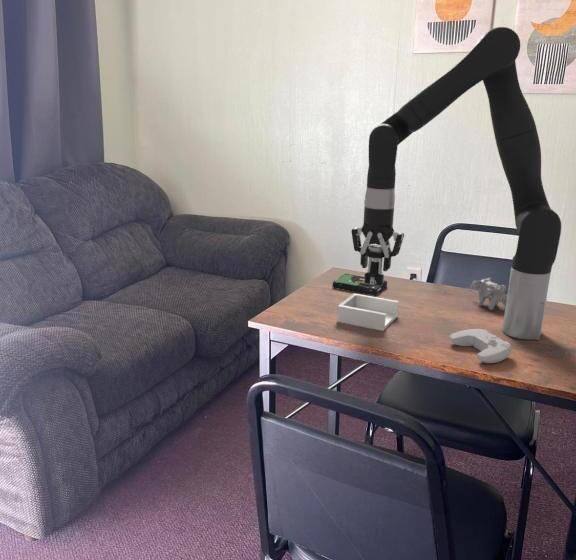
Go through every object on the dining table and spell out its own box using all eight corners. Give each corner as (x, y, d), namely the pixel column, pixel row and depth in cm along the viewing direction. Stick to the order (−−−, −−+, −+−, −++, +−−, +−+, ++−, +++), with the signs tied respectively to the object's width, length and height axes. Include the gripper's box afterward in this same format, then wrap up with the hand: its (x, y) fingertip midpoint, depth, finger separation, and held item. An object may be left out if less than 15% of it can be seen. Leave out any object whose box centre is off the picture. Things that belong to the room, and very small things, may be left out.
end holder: (397, 316, 155) (398, 301, 154) (383, 331, 145) (384, 314, 143) (353, 308, 161) (354, 293, 159) (337, 321, 151) (337, 305, 149)
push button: (356, 283, 149) (358, 246, 146) (363, 278, 153) (365, 242, 150) (380, 287, 146) (382, 250, 143) (386, 282, 150) (389, 246, 147)
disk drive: (386, 289, 180) (344, 280, 187) (387, 280, 180) (345, 272, 186) (375, 297, 172) (331, 289, 178) (376, 289, 171) (332, 280, 177)
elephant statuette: (499, 313, 159) (502, 288, 157) (459, 304, 166) (461, 279, 164) (510, 305, 166) (514, 280, 163) (471, 296, 173) (474, 272, 171)
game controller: (444, 332, 138) (478, 319, 140) (446, 347, 139) (479, 334, 142) (484, 356, 125) (520, 341, 127) (485, 372, 126) (520, 358, 129)
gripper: (411, 205, 143) (405, 269, 148) (358, 200, 149) (354, 261, 154) (402, 210, 137) (396, 276, 142) (347, 204, 143) (344, 268, 148)
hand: (374, 268), depth 148 cm, fingers closed on push button, 5 cm apart
